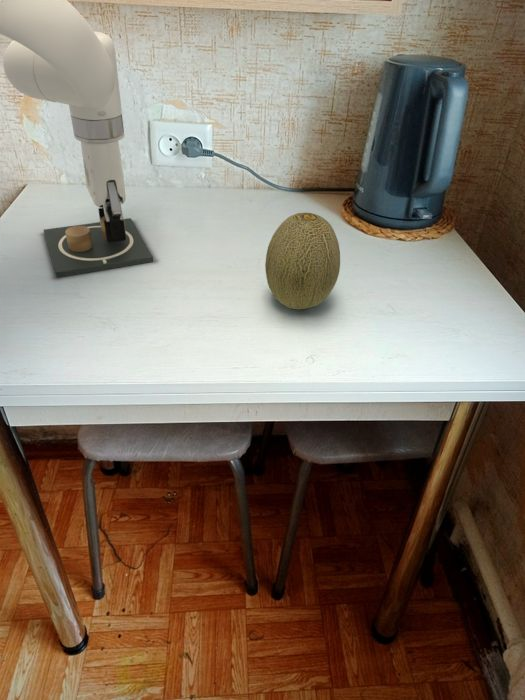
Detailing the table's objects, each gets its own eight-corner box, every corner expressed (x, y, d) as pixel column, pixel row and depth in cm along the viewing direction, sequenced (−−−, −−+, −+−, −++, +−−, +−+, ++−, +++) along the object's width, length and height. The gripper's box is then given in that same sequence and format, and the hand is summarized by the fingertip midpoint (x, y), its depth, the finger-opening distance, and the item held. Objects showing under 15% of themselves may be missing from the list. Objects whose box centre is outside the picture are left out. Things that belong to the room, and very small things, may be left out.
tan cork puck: (70, 253, 87) (67, 237, 85) (66, 243, 89) (63, 227, 87) (94, 250, 88) (91, 234, 86) (90, 239, 91) (87, 224, 89)
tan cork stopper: (105, 242, 88) (102, 226, 86) (100, 231, 91) (97, 216, 89) (128, 238, 89) (126, 222, 87) (122, 228, 92) (120, 213, 90)
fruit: (328, 329, 76) (344, 238, 67) (255, 317, 77) (261, 226, 68) (336, 290, 85) (351, 204, 75) (270, 279, 86) (277, 194, 77)
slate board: (56, 277, 83) (55, 271, 82) (44, 234, 94) (43, 228, 93) (153, 261, 88) (152, 255, 88) (131, 222, 99) (130, 217, 99)
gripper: (64, 112, 83) (83, 217, 94) (82, 145, 71) (101, 260, 83) (111, 109, 85) (124, 212, 97) (135, 141, 74) (147, 253, 85)
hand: (113, 233), depth 90 cm, fingers closed on tan cork stopper, 4 cm apart
